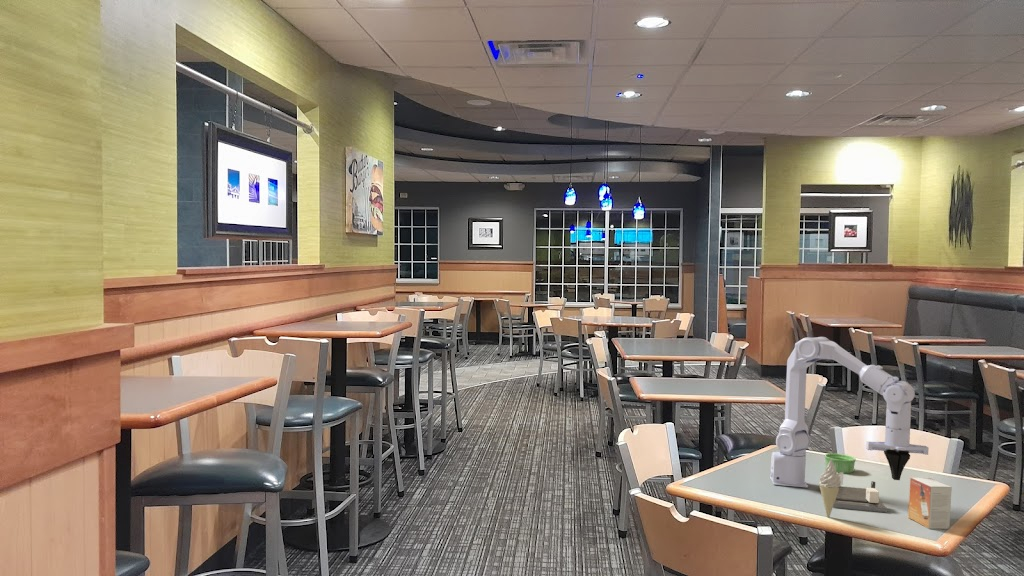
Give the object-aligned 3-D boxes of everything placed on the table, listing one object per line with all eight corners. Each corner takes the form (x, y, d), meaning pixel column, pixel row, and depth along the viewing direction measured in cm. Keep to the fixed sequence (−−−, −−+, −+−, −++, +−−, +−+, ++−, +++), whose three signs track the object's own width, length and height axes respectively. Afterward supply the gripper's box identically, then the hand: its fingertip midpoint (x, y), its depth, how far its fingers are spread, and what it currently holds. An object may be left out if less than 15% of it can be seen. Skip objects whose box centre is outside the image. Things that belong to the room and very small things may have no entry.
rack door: (833, 491, 198) (834, 479, 198) (828, 490, 199) (829, 478, 199) (844, 484, 206) (844, 472, 206) (838, 483, 207) (839, 471, 207)
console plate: (832, 507, 189) (833, 486, 189) (818, 488, 207) (819, 468, 207) (886, 512, 186) (887, 490, 186) (867, 492, 204) (868, 473, 204)
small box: (907, 518, 182) (909, 477, 182) (928, 518, 183) (930, 477, 183) (928, 529, 174) (930, 486, 174) (950, 529, 175) (952, 486, 175)
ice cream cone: (837, 521, 177) (840, 461, 177) (815, 517, 180) (818, 458, 180) (840, 516, 182) (843, 457, 181) (819, 512, 184) (821, 454, 184)
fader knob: (869, 502, 189) (869, 491, 189) (865, 498, 193) (866, 487, 193) (878, 503, 189) (879, 492, 189) (874, 499, 192) (875, 488, 192)
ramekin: (860, 474, 224) (860, 460, 224) (831, 473, 224) (832, 459, 224) (847, 467, 233) (847, 453, 233) (819, 466, 233) (820, 452, 233)
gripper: (872, 428, 187) (870, 480, 187) (933, 433, 184) (931, 485, 184) (865, 423, 194) (863, 473, 194) (923, 427, 191) (921, 478, 191)
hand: (895, 479), depth 189 cm, fingers closed
